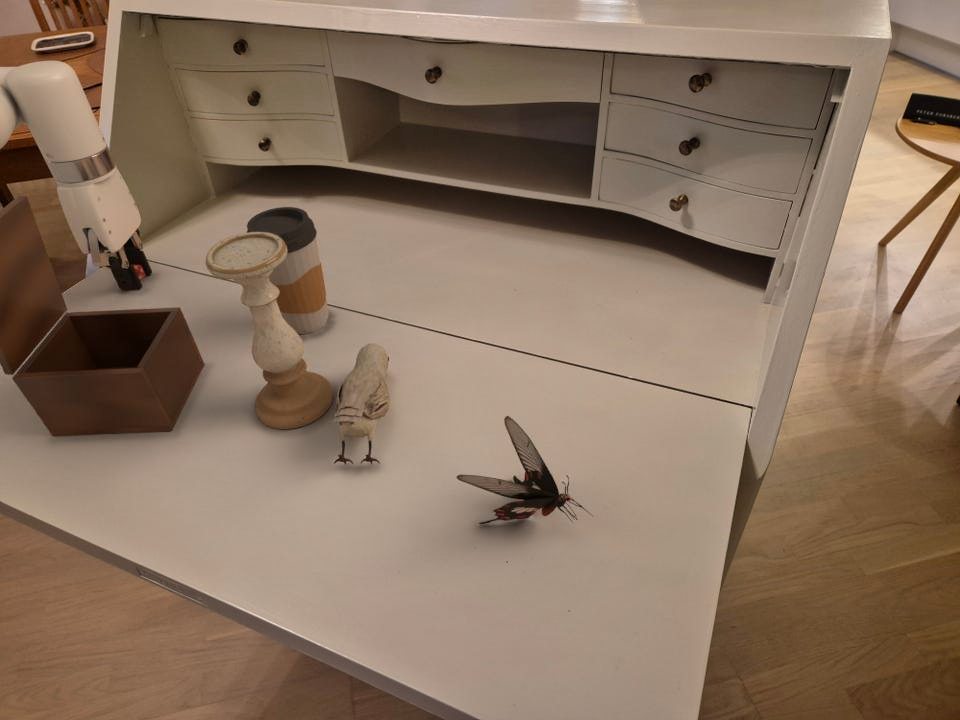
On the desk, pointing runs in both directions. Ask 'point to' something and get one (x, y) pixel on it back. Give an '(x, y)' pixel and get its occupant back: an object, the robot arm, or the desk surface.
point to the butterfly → (524, 482)
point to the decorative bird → (363, 397)
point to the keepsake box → (112, 372)
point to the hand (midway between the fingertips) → (136, 280)
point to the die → (139, 271)
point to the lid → (24, 286)
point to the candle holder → (271, 331)
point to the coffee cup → (296, 268)
